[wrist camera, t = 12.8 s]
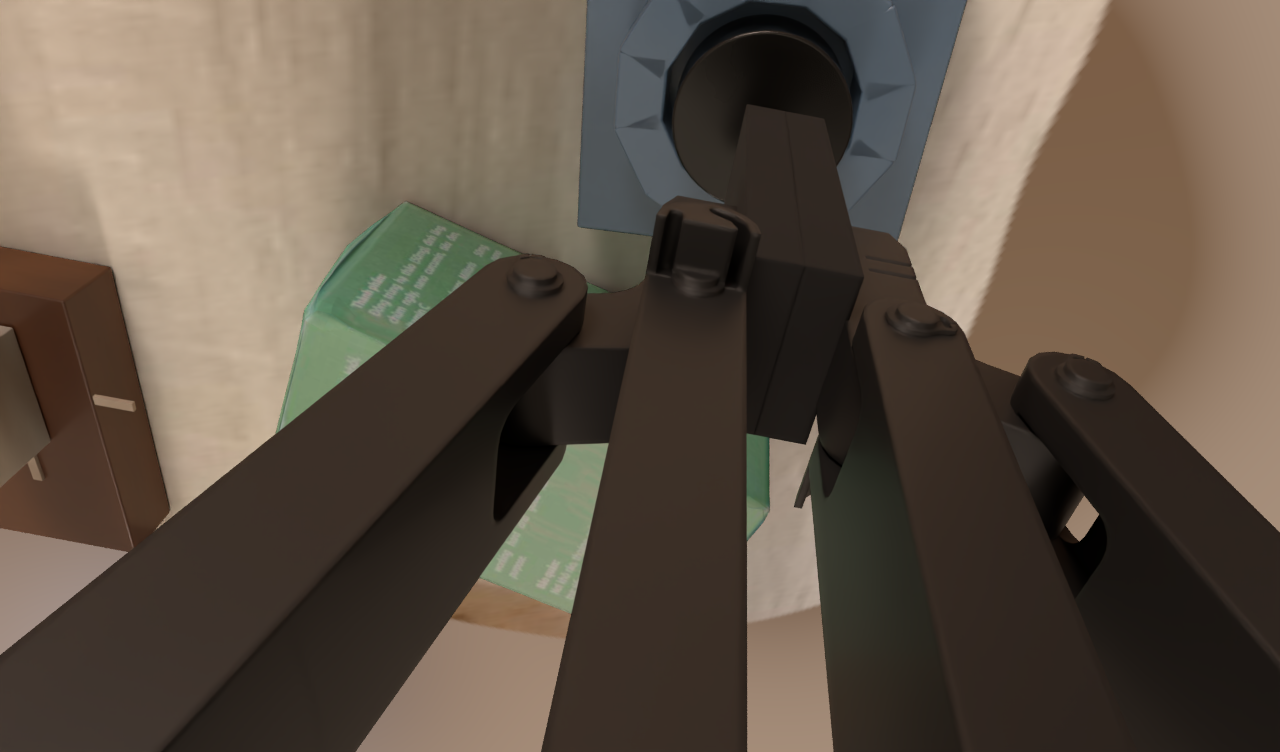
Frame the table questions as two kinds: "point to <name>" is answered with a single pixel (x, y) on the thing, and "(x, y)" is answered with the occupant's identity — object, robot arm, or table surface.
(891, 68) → the button box
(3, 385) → the red-tipped grey block
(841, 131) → the button
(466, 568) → the robot arm
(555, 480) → the box
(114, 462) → the dial panel
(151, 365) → the table surface
